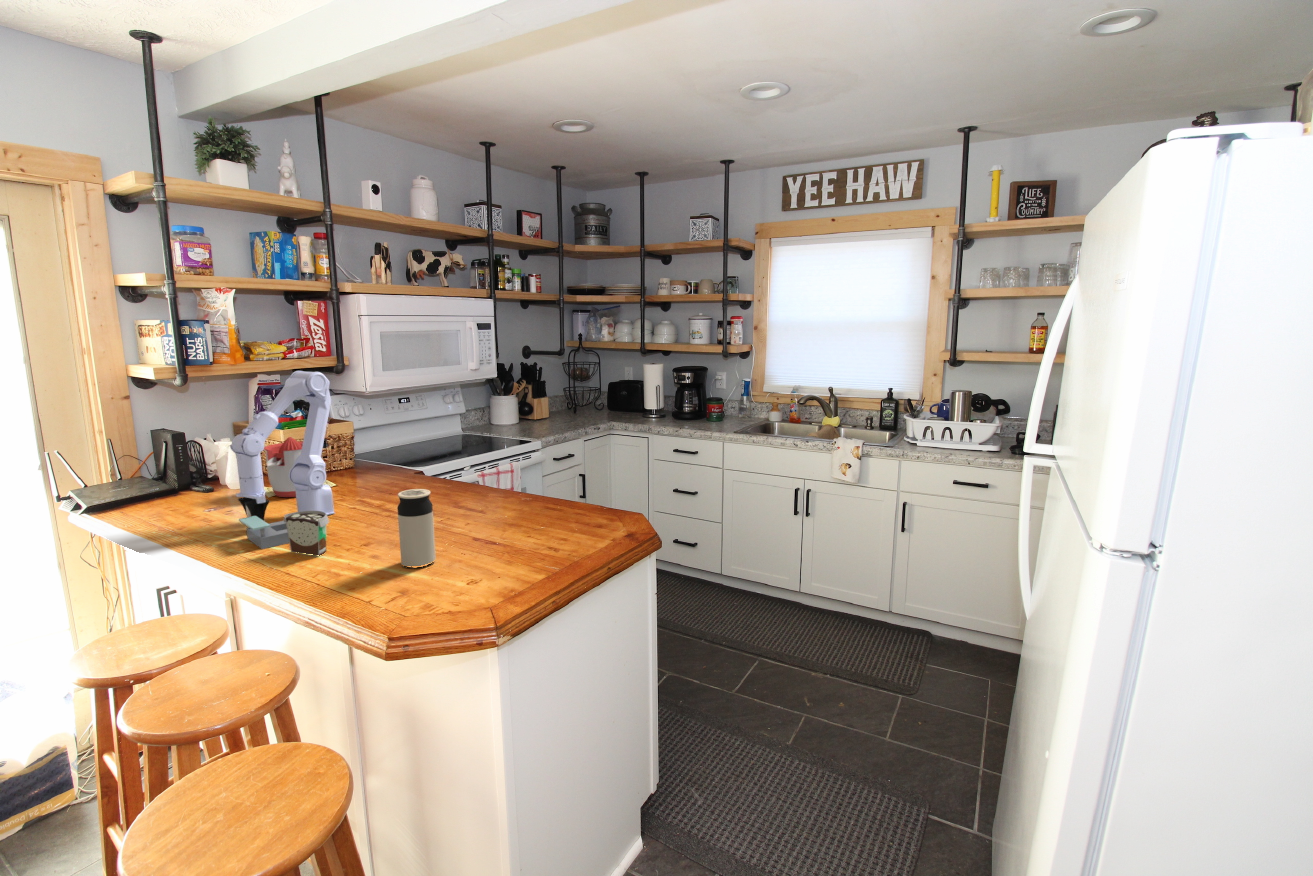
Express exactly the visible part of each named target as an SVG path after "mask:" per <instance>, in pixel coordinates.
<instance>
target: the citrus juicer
mask: <svg viewBox="0 0 1313 876" xmlns="http://www.w3.org/2000/svg"><path fill="white" fill-rule="evenodd" d="M302 445H303V441H298V440H296V439H295V438H293V437H292V436H288V437H287V438H286V439H285V440H284V441H283V442H281V443H273V444H268V445H266V446H264V452H265V461H266V462H265V463H266V471H267V476H268V481H269V484H270V486H271V488H272V491H273V493H274V494H275V496H276V497H280V498H296V490H295V487H294V483H292V482H291V481H290V479H289V472H290V469H291V468H292V467H293V465H294V461H295V459H296V458H297V457H299V456H300V455H301V451H302Z"/></svg>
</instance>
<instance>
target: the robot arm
mask: <svg viewBox="0 0 1313 876" xmlns="http://www.w3.org/2000/svg"><path fill="white" fill-rule="evenodd" d="M330 384H331V381H330V380H329V379H328V377H326V375H325V374H324V373H322V372H320V371H303V370H296V371H294V372H292V373H291V375H289V377H288V378H287V379H286V380H285V382H284V386H283V387H282V389H281V390H280V392H279V393H278V394H277V396H276V397H275V398H274V400H272V402H271V404H270V405H269V407H268V408H267V409H266V410H265V411H259V412H258V414H257V413H255V414H254V415H253V416H252V418H253V419H252V420H251V421H250V423H249V424H248V425H247V426H246V428H243V429H242V430H241V432H242V433H239V434H237V435H235V436H234V438H233V439H232V440H231V444H230V445H229V448H230V450H231V451H232V452H233V453H234V454H235V458H236V467H237V474H238V481H239V482H238V483H239V492H238V493H235V497H237V498H238V499H237V500H238V502H239V503H240V504H241V506H242V508H243V510H244V512H245V515H246V516H247V512H246V506H247V507H248V509H249V511H250V514H251V516H257V517H258V518H260V519H262V520H263V521H265V515H266V511H267V508H268V505H269V503H270V500H269V499H267V498H266V489H265V484H264V474H263V466H262V458H261V456H262V455H261V453H262V452H263V451H265V449H264V447H266V446H265V445H266V444H265V443H266V440H267V439H268V438H269V437H270V436H271V434H272V433H273V431H274V430H275V429H276V428H277V426H278V425H279V417H280V416H281V415H282V414H283V413H284V411H286V410H287V409H288V408H289V407H290V405H292V403H293V402H294V401H295V400H296V399H297V398H302V397H304V399H306V400H307V402H308V403H309V410H308V412H307V414H308V415H307V418H306V419H307V421H306V424H305V431H304V435H303V436H304V437H303V441H302V442H303V445H302V451H301V455H300V456H299V457H297V458H296V459H295V461H294V465H293V467H292V468H291V469H290V472H289V479H290V481H291V482H292V483H294V487H295V490H296V497H295V499H296V509H297V512H300V511H322V512H325V513H326V515H327V516H330V515H334V514H336V512H335V507H334V498H333V497H334V496H333V491H332V487H331V486H330V485H329V484H328V483H327V484H325V482H326V479H327V472H326V462H325V461H324V460H323V458H322V453H323V448H324V443H325V442H324V441H325V437H326V432H327V426H328V421H329V415H330V410H331V404H332V397H331V393H330Z"/></svg>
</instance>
